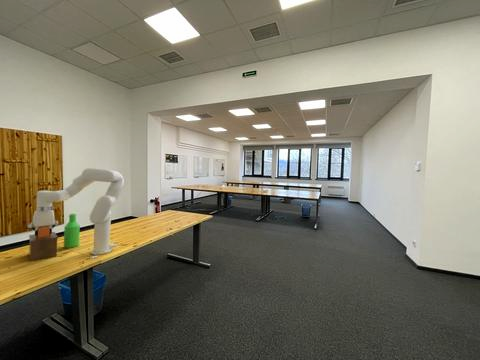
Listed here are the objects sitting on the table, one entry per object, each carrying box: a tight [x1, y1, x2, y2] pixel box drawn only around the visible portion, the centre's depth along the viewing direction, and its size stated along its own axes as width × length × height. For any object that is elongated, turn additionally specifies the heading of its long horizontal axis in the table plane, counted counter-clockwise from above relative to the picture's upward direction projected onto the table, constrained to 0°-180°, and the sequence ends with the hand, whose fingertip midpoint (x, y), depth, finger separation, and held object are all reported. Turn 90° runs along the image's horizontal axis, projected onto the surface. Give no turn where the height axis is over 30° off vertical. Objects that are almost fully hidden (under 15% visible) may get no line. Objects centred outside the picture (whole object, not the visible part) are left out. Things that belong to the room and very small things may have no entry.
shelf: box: [28, 231, 59, 262], centre depth 132 cm, size 13×16×13 cm
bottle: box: [63, 213, 81, 249], centre depth 149 cm, size 9×9×25 cm
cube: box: [38, 226, 50, 238], centre depth 132 cm, size 5×5×5 cm
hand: (43, 235), depth 132 cm, fingers closed on cube, 5 cm apart
